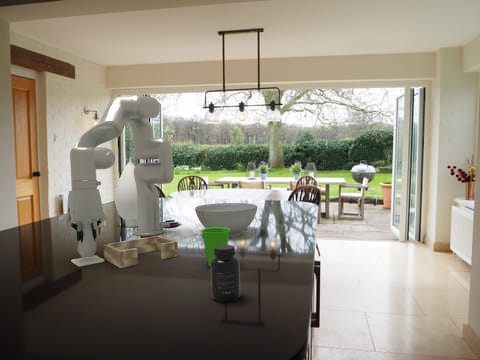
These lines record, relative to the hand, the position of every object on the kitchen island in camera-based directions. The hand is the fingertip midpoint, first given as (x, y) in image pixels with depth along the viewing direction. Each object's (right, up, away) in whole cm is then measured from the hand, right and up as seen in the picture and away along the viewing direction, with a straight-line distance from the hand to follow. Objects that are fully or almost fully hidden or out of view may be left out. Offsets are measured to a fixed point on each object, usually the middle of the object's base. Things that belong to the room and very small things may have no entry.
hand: (86, 241), depth 122 cm
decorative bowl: (+44, -4, +39) cm, 59 cm away
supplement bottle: (+47, -8, -34) cm, 58 cm away
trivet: (0, -7, 0) cm, 7 cm away
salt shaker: (0, -5, 0) cm, 5 cm away
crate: (+17, -6, +4) cm, 18 cm away
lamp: (-4, -3, +67) cm, 67 cm away
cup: (+43, -6, -7) cm, 44 cm away
